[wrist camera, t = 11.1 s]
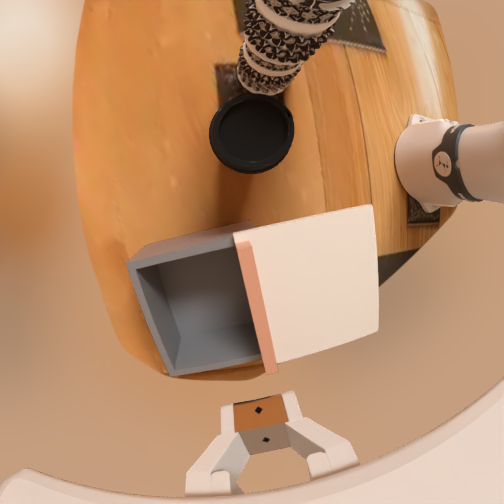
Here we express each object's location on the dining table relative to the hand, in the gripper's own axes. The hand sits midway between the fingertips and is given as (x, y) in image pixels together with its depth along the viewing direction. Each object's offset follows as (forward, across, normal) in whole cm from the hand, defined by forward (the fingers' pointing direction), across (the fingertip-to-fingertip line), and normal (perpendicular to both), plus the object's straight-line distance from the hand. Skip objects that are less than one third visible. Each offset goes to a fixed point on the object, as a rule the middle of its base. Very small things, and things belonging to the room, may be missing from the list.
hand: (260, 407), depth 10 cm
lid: (+22, -9, +6) cm, 25 cm away
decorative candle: (+33, -10, -25) cm, 42 cm away
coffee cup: (+32, -4, -13) cm, 35 cm away
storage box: (+32, +5, +6) cm, 33 cm away
